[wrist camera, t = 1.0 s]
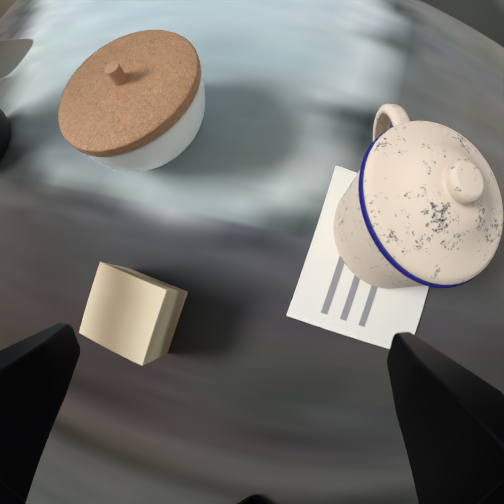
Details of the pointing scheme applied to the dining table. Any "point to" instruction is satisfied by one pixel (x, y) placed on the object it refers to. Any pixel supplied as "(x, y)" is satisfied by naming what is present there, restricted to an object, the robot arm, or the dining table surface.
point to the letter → (350, 287)
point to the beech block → (132, 313)
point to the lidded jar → (135, 101)
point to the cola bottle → (3, 132)
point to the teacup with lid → (418, 207)
